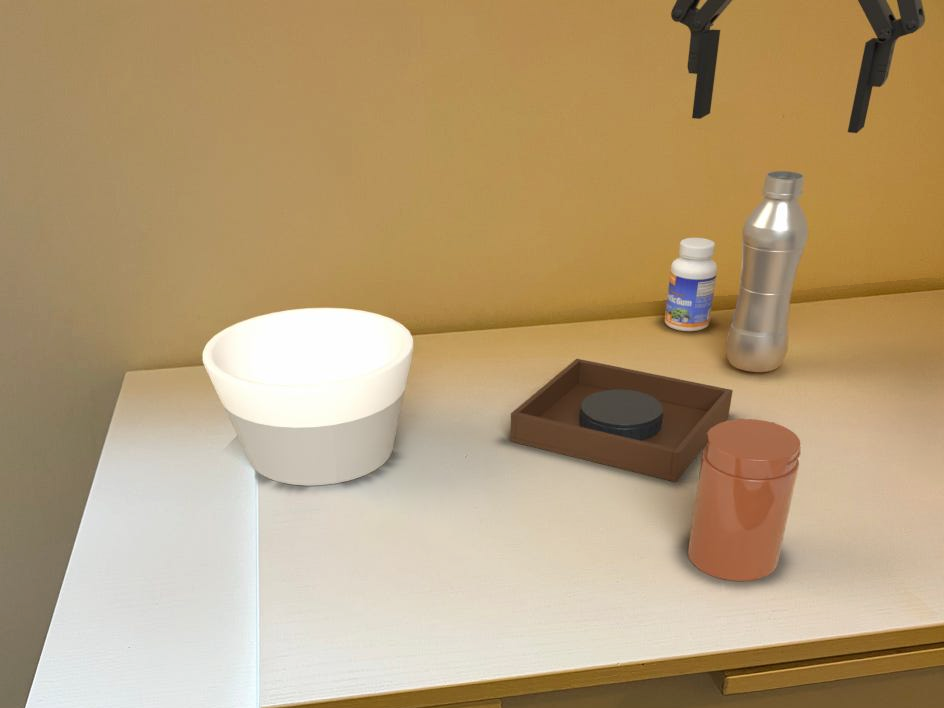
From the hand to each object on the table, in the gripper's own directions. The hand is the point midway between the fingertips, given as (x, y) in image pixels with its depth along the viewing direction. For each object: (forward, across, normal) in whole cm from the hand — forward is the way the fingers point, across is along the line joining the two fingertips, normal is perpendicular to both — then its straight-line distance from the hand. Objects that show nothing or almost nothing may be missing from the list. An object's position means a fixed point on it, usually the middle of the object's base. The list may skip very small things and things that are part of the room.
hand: (775, 123), depth 87 cm
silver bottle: (+27, -1, +11) cm, 29 cm away
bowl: (+27, -32, -28) cm, 50 cm away
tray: (+27, -8, -10) cm, 30 cm away
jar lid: (+25, -8, -10) cm, 28 cm away
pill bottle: (+27, -12, +20) cm, 36 cm away
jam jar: (+27, +9, -27) cm, 39 cm away
